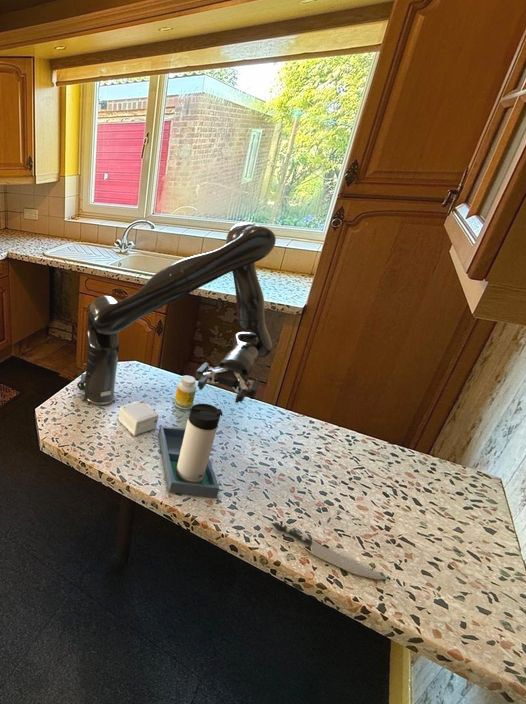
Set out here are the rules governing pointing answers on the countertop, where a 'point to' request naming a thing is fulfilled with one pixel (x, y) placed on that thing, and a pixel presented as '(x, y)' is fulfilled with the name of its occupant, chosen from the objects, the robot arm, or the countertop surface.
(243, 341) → the robot arm
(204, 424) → the travel mug
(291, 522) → the countertop surface
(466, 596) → the countertop surface
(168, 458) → the tray
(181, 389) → the supplement bottle
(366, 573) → the chef's knife
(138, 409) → the small box
